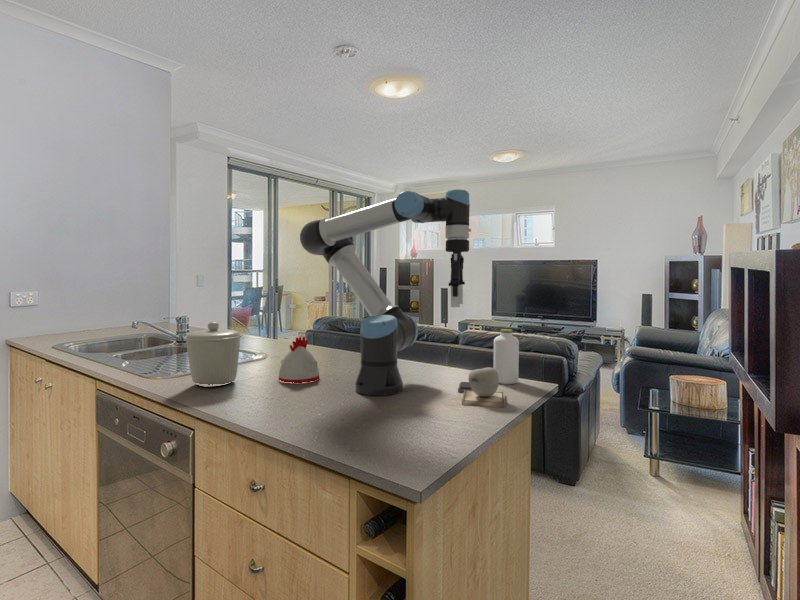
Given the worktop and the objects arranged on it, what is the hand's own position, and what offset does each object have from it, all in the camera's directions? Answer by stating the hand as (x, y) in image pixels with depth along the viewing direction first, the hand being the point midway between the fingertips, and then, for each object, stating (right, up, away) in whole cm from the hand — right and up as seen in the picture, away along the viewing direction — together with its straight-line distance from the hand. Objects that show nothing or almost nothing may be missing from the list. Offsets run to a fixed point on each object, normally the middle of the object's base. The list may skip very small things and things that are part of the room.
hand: (456, 305), depth 145 cm
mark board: (+6, -28, -13) cm, 31 cm away
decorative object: (+6, -27, -13) cm, 30 cm away
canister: (-81, -27, +6) cm, 85 cm away
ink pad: (+5, -27, -2) cm, 27 cm away
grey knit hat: (-54, -26, +13) cm, 61 cm away
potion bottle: (+18, -26, +8) cm, 33 cm away
